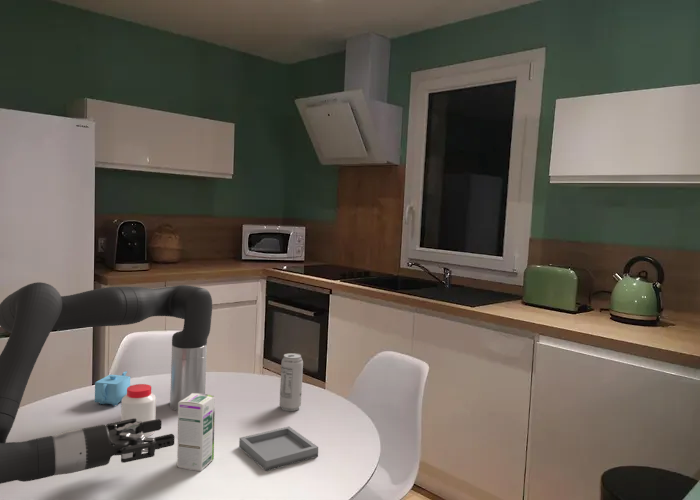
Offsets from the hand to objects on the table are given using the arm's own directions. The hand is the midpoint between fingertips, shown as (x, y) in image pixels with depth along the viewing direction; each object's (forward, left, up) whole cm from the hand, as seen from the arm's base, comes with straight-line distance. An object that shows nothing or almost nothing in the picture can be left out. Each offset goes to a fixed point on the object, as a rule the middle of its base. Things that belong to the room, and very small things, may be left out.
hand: (167, 431), depth 108 cm
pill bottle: (-22, 0, -9) cm, 24 cm away
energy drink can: (-18, +40, -9) cm, 45 cm away
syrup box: (0, +6, -9) cm, 11 cm away
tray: (+4, +24, -8) cm, 26 cm away
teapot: (-46, 0, -9) cm, 47 cm away
